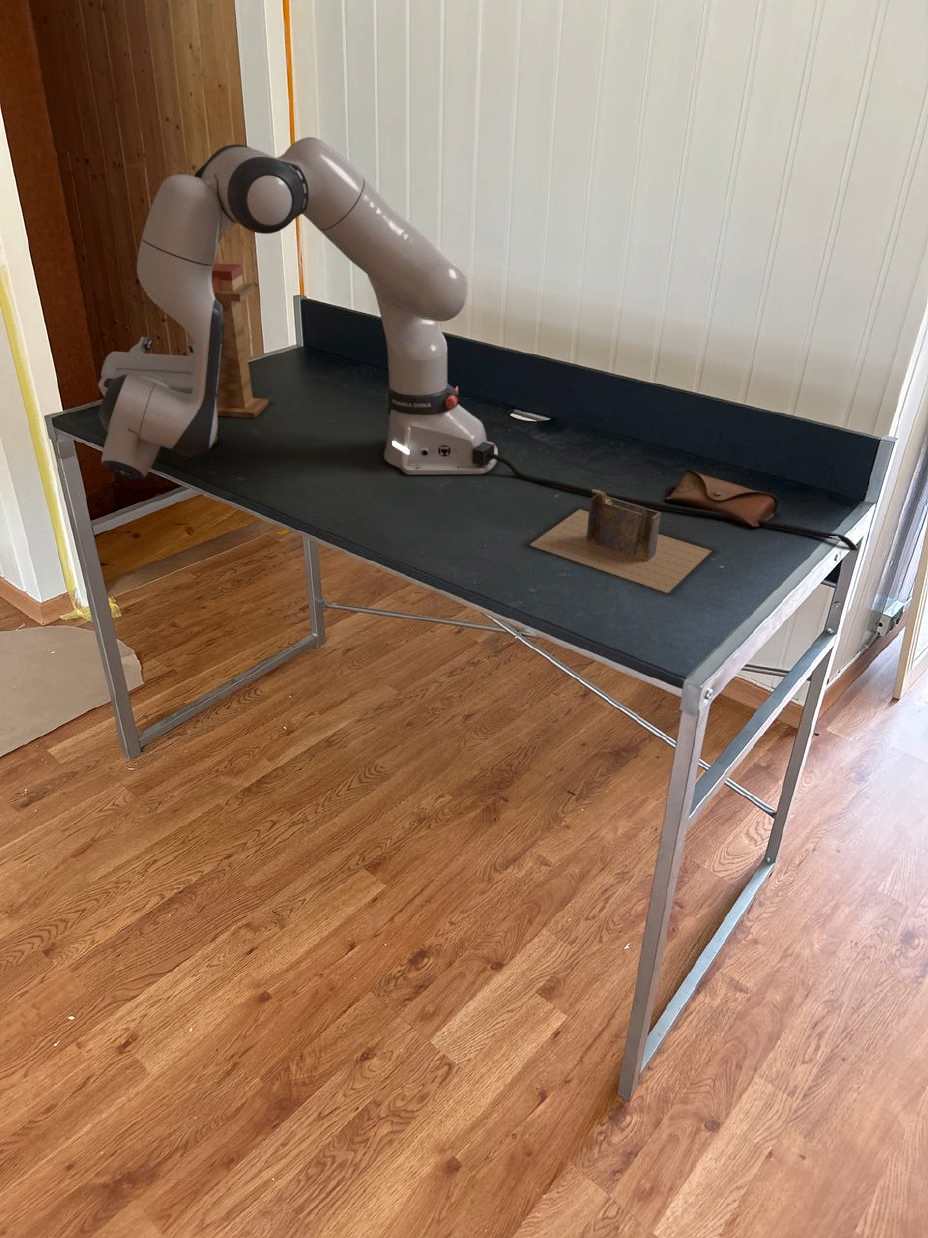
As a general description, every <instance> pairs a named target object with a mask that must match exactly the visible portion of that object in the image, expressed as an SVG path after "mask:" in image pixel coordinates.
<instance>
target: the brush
mask: <svg viewBox="0 0 928 1238" xmlns="http://www.w3.org/2000/svg"><path fill="white" fill-rule="evenodd" d="M243 275H244V270H243V264H239V263H238V264H237V263H235V264H234V263H218V262H217V263H215V262H214V264H213V270H212V288H213V292H214V294H216V293H217V292H219V291H220V290H231V291H233V290H235V289H236V288H238V287H239V286H241V285H242V284H243V283H244V281H243Z"/></svg>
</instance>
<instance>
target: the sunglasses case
mask: <svg viewBox="0 0 928 1238" xmlns="http://www.w3.org/2000/svg"><path fill="white" fill-rule="evenodd" d="M665 500H666V501H669V502H673V503H678V504H680V505H684V506H686V507H689V508H694V509H701V510H707V511H714V512H720V513H725V514H728V515H730V516H731V517H732V518H733V520H730V519H726V520H727V521H730V522H734V523H738V524H742V525H746V526H749V527H752V528H758V527H760V526H761V525H760V524H758V520H759V519H761V520H767V521H771V519H772V518H774V517H775V514H776V512H777V510H778V509H777V508H778V499H777V497H776V496H774V495H773V494H771V493H767V492H764V491H757V490H755V489H751V488H749V487H745V486H742V485H739V484H736V483H732V482H729V481H726V480H723V479H718V478H715V477H712V476H708V475H705V474H702V473H699V472H697V471H695V470H692V469H687V470H686V471H685V474H684V475H683V476H682V478H681V479H680V480H679V482H678V484H677V485H676V486H675V488H674V489H673V491H672V492H671V494H670V495H669V496H667V497H665Z"/></svg>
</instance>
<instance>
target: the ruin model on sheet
mask: <svg viewBox="0 0 928 1238" xmlns="http://www.w3.org/2000/svg"><path fill="white" fill-rule="evenodd" d="M590 489H591V488H590ZM591 491H592V493H595V494H597V495H593V497H591V498H590V499H589V509H588V511H586V510H584V509H581V508H580V509H579V508H578V509H577V510H576V511H575V512H573V513H572V514H571V515H569V516H568V517H566V518H565V519H563V520H562V521H560V523H558V524H557V525H555V526H554V527H552V528H551V529H550V530H548V531H547V532H545V533H544V534H543V535H541V536H540V537H539V538H537V539H535V540H534V541H533V542H532V543H530V544H529V546H530V547H534V548H536V549H539V550H541V551H545V552H548V553H550V554H553V555H555V556H560V557H562V558H565V559H568V560H571V561H573V562H577V563H579V564H583V565H585V566H588V567H591V568H594V569H596V570H600V571H603V572H606V573H608V574H611V575H614V576H617V577H620V578H623V579H624V580H625V579H626V580H628V581H630V582H634V583H637V584H641V585H643V586H646V587H649V588H652V589H654V590H657V591H660V592H663V593H666V594H669V593H670V592H671V591H672V590H673V589H674V588H675V587H676V586H677V585H679V583H680V582H682V581H683V579H685V577H686V576H688V575H689V573H691V572H692V571H693V570H694V569H695V568H696V567H697V566H698V565H699V564H700V563H701V562H703V560H704V559H705V558H707V556H709V555H710V553H712V550H711V549H707V548H704V547H701V546H699V545H695V544H692V543H688V542H685V541H682V540H678V539H676V538H673V537H669V536H666V535H663V534H659V530H660V525H661V516H662V512H661V511H657V510H654V509H651V508H648V507H645V506H642V505H639V504H634V503H628V502H625V501H621V500H618V499H615V498H611V497H608V496H607V495H606V493H607V492H605V491H602V490H600V489H594V488H592V489H591Z"/></svg>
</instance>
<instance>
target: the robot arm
mask: <svg viewBox="0 0 928 1238" xmlns="http://www.w3.org/2000/svg"><path fill="white" fill-rule="evenodd" d="M301 215H303V216H304V217H305V218H306V219H307V220H308V221H309V222H310V223H311V224H312V225H313V226H314V227H315V228H316V229H317V230H318V231H319V232H320V233H321V234H323V236H324V237H326V239H327V240H328V241H330V243H332V244H333V245H334V246H335V247H336V248H337V249H338V250H339V251H340V252H341V253H342V254H343V255H344V256H345V257H346V258H347V259H348V260H349V261H350V262H352V263H353V264H354V265H355V266H357V268H359V269H360V270H362V271H363V272H364V273H365V274H366V275H367V278H368V281H369V283H370V285H371V287H372V289H373V291H374V294H375V298H376V302H377V306H378V310H379V315H380V319H381V323H382V327H383V331H384V336H385V341H386V352H387V366H388V368H387V369H388V384H387V387H386V407H387V408H386V409H387V415H388V417H389V418H388V431H387V437H386V438H387V439H386V445H385V449H384V452H383V458H384V460H385V461H386V462H387V463H388V464H389V465H392V466H395V467H396V468H399V469H400V470H401V472H403V473H404V474H406V475H410V476H411V475H412V476H415V475H416V476H417V475H418V476H419V475H424V476H425V475H483V474H485V473H488V472H489V471H491V470H493V468H494V467H495V466H496V464H497V462H500V463H502V464H504V465H506V466H507V467H508V468H509V469H510V470H511V472H512V473H513V474H514V475H515V476H517V477H519V478H521V479H523V480H525V481H529V482H533V483H537V484H544V485H550V486H554V487H558V488H561V489H565V490H570V491H573V492H578V493H582V494H586V495H591V496H595V495H597V494H595V493H592V491H591V488H587V487H581V486H577V485H574V484H569V483H566V482H562V481H558V480H553V479H548V478H541V477H536V476H531V475H528V474H526V473H524V472H522V471H520V470H519V469H518V467H516V466H515V464H514V463H513V462H512V461H510V460H509V459H508V458H505V457H503V456H501V455H499V449H498V447H497V446H496V445H495V443H494V442H491V441H488V439H487V432H486V429H485V426H484V424H483V422H482V421H481V420H480V419H479V418H477V417H476V416H474V415H473V414H471V412H469V411H468V410H467V409H465V408H464V407H462V406H461V405H460V404H459V386H458V385H457V386H456V387H455V388H454V387H453V386H451V384H449V382H448V345H447V344H448V343H447V340H446V338H445V336H444V334H443V331H442V329H441V327H440V323H439V322H448V321H450V320H452V319H454V318H455V317H456V316H459V314H460V313H461V312H462V310H463V309H464V307H465V305H466V303H467V301H468V295H469V286H468V285H469V284H468V281H467V277H466V275H465V274H464V273H463V271H462V270H461V269H460V268H459V267H458V266H457V265H456V264H455V263H454V262H453V261H452V260H450V259H449V258H448V257H447V255H445V254H444V253H443V252H442V251H441V250H440V249H439V248H438V247H437V246H436V245H435V244H433V242H431V241H430V240H429V239H428V237H426V236H425V235H424V234H423V233H422V232H420V231H419V230H418V229H417V228H416V227H414V225H412V224H411V223H410V222H409V221H408V220H406V219H405V218H404V217H403V216H402V215H401V214H400V213H398V211H396V210H395V209H394V208H393V207H392V206H391V205H390V204H389V202H387V200H386V199H385V198H384V197H383V196H382V195H381V194H380V193H379V192H378V191H377V189H375V188H374V186H373V185H372V184H371V183H370V182H369V181H368V180H367V179H366V178H365V177H364V176H363V175H362V174H361V173H360V172H359V171H358V169H356V167H354V165H352V164H351V162H349V161H348V160H347V159H346V158H344V157H343V156H342V155H341V154H340V153H338V152H337V151H336V150H335V149H333V148H332V147H331V146H330V145H328V144H327V143H325V142H324V141H323V140H322V139H319V138H316V137H313V136H308V137H307V136H306V137H303V138H300V139H298V140H296V141H294V143H292V144H291V145H289V147H288V148H287V149H286V151H285V152H284V153H283V154H282V155H280V156H277V157H274V156H272V155H269V154H267V153H265V152H263V151H261V150H258V149H254V148H252V147H250V146H247V145H244V144H238V143H237V144H236V143H235V144H229V145H225V146H222V147H221V148H219V149H218V150H216V151H215V152H214V153H213V154H212V155H211V156H210V157H209V158H208V160H207V161H206V162H205V163H204V164H203V165H202V166H200V168H199V169H198V170H197V171H196V172H195V173H194V175H191V174H184V173H183V174H179V173H178V174H172V175H170V176H168V177H167V178H165V179H164V180H163V182H162V183H161V184H160V186H159V189H158V191H157V192H156V195H155V197H154V199H153V202H152V204H151V207H150V210H149V212H148V215H147V218H146V221H145V225H144V228H143V232H142V236H141V240H140V245H139V249H138V256H137V263H136V273H137V277H138V281H139V283H140V285H141V287H142V289H143V291H144V292H145V294H146V295H147V296H148V298H149V299H150V300H151V301H152V302H153V303H154V304H155V305H156V306H157V307H158V308H159V309H160V310H161V311H163V312H164V313H165V314H167V315H168V316H169V317H170V318H171V319H172V320H174V321H175V322H177V324H179V325H180V326H181V327H182V328H183V329H184V331H186V332H187V334H188V335H189V336H190V338H191V339H189V340H188V341H189V342H188V343H187V348H188V349H189V352H190V353H189V355H178V354H163V353H162V354H160V353H147V352H146V351H151V350H152V346H153V341H152V339H151V338H150V337H148V336H141V337H140V339H139V341H138V343H136V344H135V345H134V346H132V347H131V348H130V349H129V351H128V352H127V351H112V352H110V353H109V354H107V355H106V357H105V360H104V362H103V365H102V368H101V372H100V376H101V378H100V380H99V381H98V384H97V386H98V388H99V390H100V392H101V394H102V396H103V399H102V401H101V404H100V406H99V409H98V410H99V411H98V417H99V420H100V422H101V425H102V426H103V429H104V431H105V432H106V433H107V434H106V438H105V441H104V446H103V450H102V455H101V465H102V466H103V467H104V468H105V469H106V470H107V471H108V472H110V473H112V474H114V475H116V476H118V477H122V478H125V479H130V480H143V479H145V478H146V477H147V476H148V474H149V472H150V471H151V469H152V467H153V465H154V463H155V461H156V459H157V457H158V455H159V453H160V450H161V447H162V448H166V449H169V450H170V451H172V452H174V453H176V454H179V455H181V456H184V457H186V458H189V459H191V458H194V457H195V458H196V457H198V456H200V455H203V454H206V453H207V452H209V451H210V449H211V448H212V446H213V445H214V444H215V443H214V441H215V438H216V435H217V434H218V427H219V420H218V419H219V418H218V417H219V416H217V399H218V387H219V376H220V366H221V355H222V343H223V328H224V314H223V308H222V305H221V304H220V303H219V302H218V300H217V299H215V296H214V292H213V288H212V270H213V264H214V263H215V261H216V258H217V253H218V248H219V244H220V243H221V241H222V239H223V237H224V235H225V234H226V233H227V231H228V230H230V228H231V227H233V226H234V225H235V224H237V225H240V226H242V227H243V228H244V229H246V230H247V231H250V232H253V233H256V234H260V235H261V234H262V235H263V234H264V235H267V234H268V235H270V234H275V233H277V232H280V231H282V230H284V229H285V228H287V227H288V226H289V225H290V224H291V223H292V222H293V221H294V220H295V219H297V218H298V217H299V216H301ZM213 443H214V444H213ZM605 493H606V495H607V496H608V497H611V498H615V499H618V500H621V501H625V502H628V503H631V504H634V505H638V506H644V507H651V508H657V509H663V510H668V511H675V512H680V513H686V514H693V515H699V516H706V517H712V518H717V519H724V520H727V519H730V520H733V518H732V517H731V516H730V515H728V514H725V513H720V512H714V511H707V510H701V509H695V508H692V507H689V506H682V505H676V504H670V503H663V502H658V501H657V502H656V501H652V500H646V499H640V498H636V497H635V498H634V497H629V496H624V495H619V494H614V493H610V492H605ZM730 520H729V521H730ZM758 524H760V526H765V527H769V528H775V529H776V528H777V529H781V530H787V531H792V532H797V533H801V534H806V535H810V536H814V537H818V538H823V539H829V540H830V539H831V540H837V541H840V542H842V543H844V544H845V545H846V546H847V547H848V548H849V549H850V550H851V551H854V552H856V551H858V548H857V546H856V544H855V543H854V542H853V541H852V540H851V539H850V538H849V537H846V536H845V535H842V534H838V533H834V532H826V531H819V530H816V529H812V528H807V527H803V526H798V525H794V524H793V525H792V524H787V523H782V522H776V521H771V520H768V521H767V520H761V519H759V520H758ZM826 535H827V536H826ZM829 536H838V537H839V538H840V539H841V540H838V539H835V538H832V537H829ZM813 736H815V737H819V736H820V733H816V732H814V733H813Z"/></svg>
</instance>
